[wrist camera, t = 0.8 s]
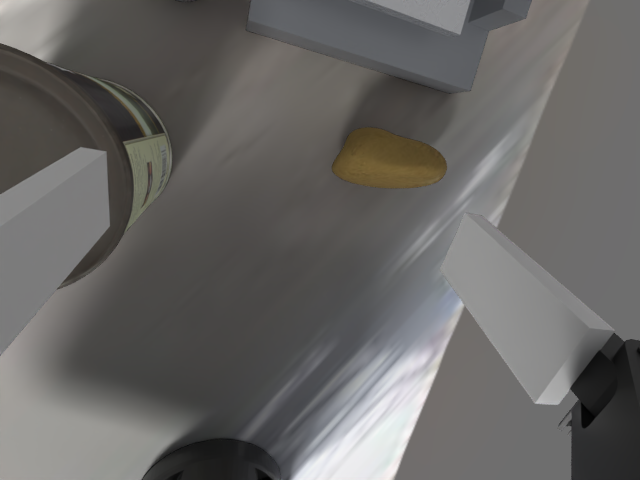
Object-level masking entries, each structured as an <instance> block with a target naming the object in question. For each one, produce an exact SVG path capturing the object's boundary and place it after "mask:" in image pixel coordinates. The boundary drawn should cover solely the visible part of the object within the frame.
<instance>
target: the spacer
mask: <svg viewBox="0 0 640 480" xmlns="http://www.w3.org/2000/svg"><path fill="white" fill-rule="evenodd" d="M176 1H180V2H192V1H196V0H176Z"/></svg>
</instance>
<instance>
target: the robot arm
mask: <svg viewBox="0 0 640 480" xmlns="http://www.w3.org/2000/svg"><path fill="white" fill-rule="evenodd" d="M109 227H110V216H109V195H108V174H107V153H106V151H100V150H94V149H89V148H83V147H80V148H78V149H77V150H75V151H73V152H71V153H70V154H68V155H66V156H65V157H63V158H61V159H60V160H58V161H56V162H54V163H53V164H51V165H49V166H48V167H46V168H44V169H43V170H41V171H39V172H38V173H36V174H34V175H32V176H31V177H29V178H27V179H26V180H24V181H22V182H21V183H19V184H17V185H15V186H14V187H12V188H10V189H9V190H7V191H5V192H4V193H2V194H0V356H1V354H2V353H3V352H4V351H5V350H6V349H7V347H8V346H9V345H10V344H11V343H12V341H13V340H14V339H15V338H16V337H17V336H18V334H19V333H20V332H21V331H22V330H23V328H24V327H25V326H26V325H27V324H28V323H29V321H30V320H31V319H32V318H33V317H34V315H35V314H36V313H37V312H38V311H39V310H40V308H41V307H42V306H43V305H44V304H45V302H46V301H47V300H48V299H49V298H50V297H51V295H52V294H53V293H54V292H55V291H56V289H57V288H58V287H59V286H60V285H61V283H62V282H63V281H64V280H65V279H66V278H67V276H68V275H69V274H70V273H71V272H72V270H73V269H74V268H75V267H76V266H77V265H78V263H79V262H80V261H81V260H82V259H83V257H84V256H85V255H86V254H87V253H88V252H89V250H90V249H91V248H92V247H93V246H94V244H95V243H96V242H97V241H98V240H99V239H100V237H101V236H102V235H103V234H104V233H105V231H106V230H107V229H108V228H109ZM440 271H441V272H442V274H443V275H444V277H445V278H446V279H447V281H448V282H449V284H450V285H451V286H452V288H453V289H454V291H455V292H456V293H457V295H458V296H459V298H460V299H461V300H462V302H463V303H464V305H465V306H466V307H467V309H468V310H469V312H470V313H471V315H472V316H473V317H474V319H475V320H476V321H477V323H478V324H479V326H480V327H481V328H482V330H483V331H484V333H485V334H486V336H487V337H488V338H489V340H490V341H491V343H492V344H493V345H494V347H495V348H496V350H497V351H498V353H499V354H500V355H501V357H502V358H503V360H504V361H505V362H506V364H507V365H508V366H509V368H510V369H511V371H512V372H513V374H514V375H515V376H516V378H517V379H518V381H519V382H520V383H521V385H522V386H523V388H524V389H525V390H526V392H527V393H528V394H529V396H530V398H531V399H532V400H533V402H534V403H536V404H552V405H558V404H559V403H560V402H561V400H562V399H563V398H564V397H565V395H566V394H567V393H568V391H569V390H570V389H571V390H572V391H573V392H574V394H575V395H576V396H577V397H578V399H579V400H578V401H577V402H576V403H575V405H574V406H573V407H572V409H571V410H570V411H569V412H568V413H567V415H566V416H565V417H564V418H563V420H562V421H561V422H560V423H559V426H558V429H559V430H561V431H562V430H563V428H564V427H565V426H572V429H571V431H570V432H569V433H568V435H569V436H571V437H572V447H571V448H572V452H571V453H572V456H571V457H572V459H571V461H572V462H571V466H572V468H571V469H572V476H571V477H572V478H571V479H572V480H640V341H638V340H633V339H630V340H626V341H625V342H624V341H623V340H622V339H621V338H620V337H618V336H617V335H616V334H615V333H614V332H615V330H614V329H613V328H611V327H610V326H609V325H608V324H607V323H606V322H605V321H604V320H602V319H601V318H600V317H599V316H598V315H597V314H595V313H594V312H593V311H592V310H590V309H589V308H588V307H587V306H586V305H585V304H584V303H583V302H582V301H580V300H579V299H578V298H577V297H576V296H575V295H573V294H572V293H571V292H570V291H569V290H567V289H566V288H565V287H564V286H563V285H562V284H560V282H558V281H557V280H556V279H555V278H554V277H552V276H551V275H550V274H549V273H548V272H547V271H545V270H544V269H543V268H542V267H541V266H540V265H539V264H538V263H536V262H535V261H534V260H533V259H532V258H531V257H529V256H528V255H527V254H526V253H525V252H524V251H522V250H521V249H520V248H519V247H518V246H517V245H516V244H514V243H513V242H512V241H511V240H510V239H509V238H507V237H506V236H505V235H504V234H503V233H502V232H500V231H499V230H498V229H497V228H496V227H495V226H494V225H492V224H491V223H490V222H489V221H488V220H487V219H485V218H484V217H483V216H482V215H476V214H470V213H465V214H464V216H463V218H462V221H461V223H460V225H459V228H458V230H457V232H456V234H455V237H454V239H453V241H452V243H451V246H450V248H449V250H448V253H447V255H446V257H445V259H444V262H443V264H442V266H441V268H440ZM142 480H281V476H280V472H279V469H278V466H277V465H276V463H275V461H274V460H273V459H272V458H271V457H270V456H269V455H268V454H267V453H266V452H265V451H263V450H262V449H260V448H258V447H256V446H254V445H252V444H249V443H246V442H242V441H236V440H210V441H204V442H199V443H195V444H192V445H189V446H186V447H184V448H181V449H179V450H177V451H175V452H173V453H171V454H170V455H168V456H166V457H165V458H163V459H162V460H161V461H159V462H158V463H157V464H156V465H155V466H153V467H152V468H151V469H150V470H149V472H148V473H147V474H146V475H145V476H144V478H143V479H142Z"/></svg>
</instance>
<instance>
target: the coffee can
mask: <svg viewBox="0 0 640 480" xmlns="http://www.w3.org/2000/svg"><path fill="white" fill-rule="evenodd" d="M80 147H83V148H89V149H94V150H100V151H106V153H107V174H108V195H109V216H110V227H109V228H108V229H107V230H106V231H105V233H104V234H103V235H102V236H101V237H100V239H99V240H98V241H97V242H96V243H95V244H94V246H93V247H92V248H91V249H90V250H89V252H88V253H87V254H86V255H85V256H84V257H83V259H82V260H81V261H80V262H79V263H78V265H77V266H76V267H75V268H74V269H73V270H72V272H71V273H70V274H69V275H68V276H67V278H66V279H65V280H64V281H63V282H62V283H61V285H60V286H59V287H58V288H57V289H60V288H63V287H65V286H68V285H70V284H72V283H74V282H76V281H78V280H79V279H81V278H83V277H85V276H86V275H88V274H89V273H91V272H92V271H93V270H95V269H96V268H97V267H98V266H100V265H101V264H102V263H103V262H104V261H105V260H106V259H107V257H108V256H109V255H110V254H111V252H112V251H113V250H114V249H115V247H116V246H117V245H118V243H119V241H120V239H121V238H122V236H123V235H124V233H125V232H126V231H127V230H128V229H129V228H130V226H131V225H132V224H133V223H134V222H135V221H136V220H137V218H138V217H139V216H140V215H141V214H142V213H143V212H144V211H145V209H147V207H148V206H149V205H150V204H151V203H152V202H153V201H154V200H156V198H157V197H158V196H159V195H160V194H161V193H162V191H163V190H164V188H165V186H166V185H167V182H168V179H169V176H170V173H171V168H172V149H171V144H170V140H169V135H168V133H167V131H166V129H165V127H164V125H163V123H162V121H161V120H160V118H159V117H158V115H157V114H156V113H155V111H154V110H153V109H152V108H151V107H150V106H149V105H148V104H147V103H146V102H145V101H144V100H143V99H142V98H140V97H139V96H138V95H136V94H135V93H134V92H132V91H131V90H129V89H127V88H125V87H123V86H121V85H119V84H116V83H114V82H111V81H107V80H103V79H99V78H94V77H90V76H87V75H84V74H81V73H77V72H74V71H71V70H68V69H65V68H62V67H59V66H57V65H53V64H51V63H47V62H44V61H42V60H40V59H38V58H36V57H34V56H32V55H30V54H27V53H25V52H22V51H20V50H18V49H15V48H12V47H10V46H7V45H4V44H1V43H0V194H2V193H4V192H5V191H7V190H9V189H10V188H12V187H14V186H15V185H17V184H19V183H21V182H22V181H24V180H26V179H27V178H29V177H31V176H32V175H34V174H36V173H38V172H39V171H41V170H43V169H44V168H46V167H48V166H49V165H51V164H53V163H54V162H56V161H58V160H60V159H61V158H63V157H65V156H66V155H68V154H70V153H71V152H73V151H75V150H77V149H78V148H80ZM57 289H56V290H57Z"/></svg>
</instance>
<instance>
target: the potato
mask: <svg viewBox="0 0 640 480" xmlns="http://www.w3.org/2000/svg"><path fill="white" fill-rule="evenodd" d="M446 170H447V164H446V161H445V159H444V157H443V156H442V155H441V153H440V152H438V151H437V150H436V149H434V148H433V147H431V146H429V145H427V144H425V143H422V142H420V141H416V140H412V139H408V138H404V137H400V136H397V135H394V134H392V133H390V132H388V131H385V130H383V129H379V128H373V127H366V128H359V129H356V130H354V131H353V132H351V133H350V134H349V135H348V137H347V139H346V142H345V144H344V147H343V149H342V150H341V152H340V153H339V154H338V156H337V157H336V159H335V160H334V162H333V165H332V171H333V173H334V174H335V175H337V176H338V177H339V178H341V179H343V180H346V181H348V182H352V183H355V184H360V185H365V186H370V187H378V188H415V187H422V186H427V185H431V184H433V183H436V182H438V181H439V180H441V179H442V178H443V176H444V175H445V173H446Z"/></svg>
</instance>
